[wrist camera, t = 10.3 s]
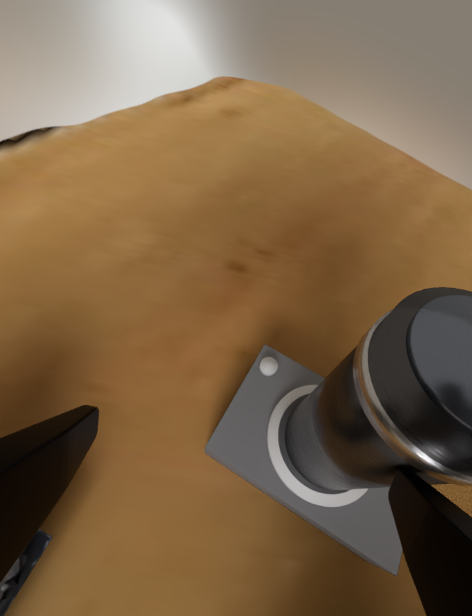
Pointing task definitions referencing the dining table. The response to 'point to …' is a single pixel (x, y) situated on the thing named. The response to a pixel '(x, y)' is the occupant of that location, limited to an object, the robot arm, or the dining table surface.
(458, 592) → the robot arm
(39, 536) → the vintage camera
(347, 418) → the dark grey cylinder
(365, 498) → the grey rectangular block
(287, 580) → the dining table surface
